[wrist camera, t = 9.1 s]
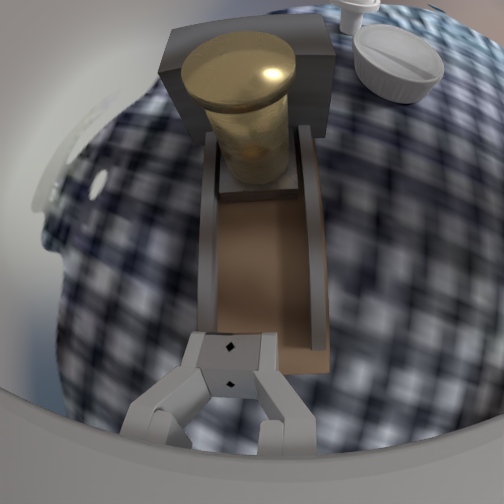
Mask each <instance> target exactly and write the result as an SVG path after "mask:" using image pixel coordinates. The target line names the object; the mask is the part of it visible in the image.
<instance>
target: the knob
mask: <svg viewBox="0 0 504 504" xmlns="http://www.w3.org/2000/svg"><path fill="white" fill-rule="evenodd" d="M181 77H182V80H183V83H184V85H185V87H186V90H187V92H188V94H189V96H190V98H191V99H192V101H193V102H194V103H195V104H197V105H198V106H199V107H201V108H203V109H205V111H206V114H207V116H208V119H209V121H210V124H211V126H212V129H213V131H214V134H215V136H216V139H217V141H218V144H219V146H220V149H221V159H220V182H219V194H220V196H221V197H222V199H223V201H224V203H231V202H248V201H267V200H289V199H298V179H297V167H296V156H295V145H294V135H293V126H288V102H287V93H288V92H289V91H290V90H291V88H292V86H293V84H294V82H295V77H296V70H295V54H294V51H293V49H292V48H291V47H290V45H289V44H288V43H287V42H285V41H284V40H282V39H281V38H279V37H277V36H274V35H272V34H268V33H264V32H258V31H239V32H232V33H227V34H224V35H220V36H217V37H215V38H212V39H210V40H208V41H206V42H204V43H203V44H201V45H200V46H198V47H197V48H196V49H194V50H193V51H192V52H191V53H190V54H189V55H188V57H187V58H186V59H185V61H184V63H183V66H182V69H181Z"/></svg>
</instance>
